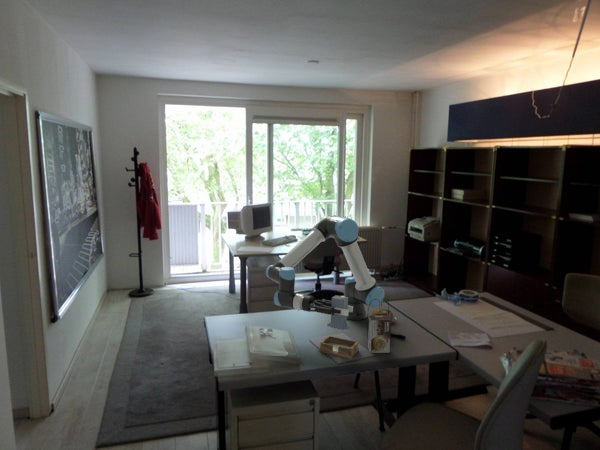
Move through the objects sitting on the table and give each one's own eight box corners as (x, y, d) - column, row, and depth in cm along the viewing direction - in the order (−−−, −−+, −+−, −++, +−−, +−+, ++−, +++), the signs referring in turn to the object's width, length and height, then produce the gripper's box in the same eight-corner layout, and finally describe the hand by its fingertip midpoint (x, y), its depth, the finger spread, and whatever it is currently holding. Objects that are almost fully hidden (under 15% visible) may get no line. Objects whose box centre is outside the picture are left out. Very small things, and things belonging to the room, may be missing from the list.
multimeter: (373, 344, 204) (375, 304, 202) (364, 336, 214) (366, 298, 211) (400, 342, 208) (402, 302, 206) (390, 334, 218) (392, 297, 215)
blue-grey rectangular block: (330, 323, 199) (331, 292, 197) (350, 327, 194) (352, 296, 192) (326, 326, 194) (327, 295, 192) (346, 330, 190) (348, 299, 188)
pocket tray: (327, 343, 203) (328, 335, 203) (358, 350, 197) (358, 341, 196) (319, 351, 194) (319, 342, 194) (351, 358, 187) (351, 349, 187)
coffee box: (386, 347, 201) (388, 314, 199) (389, 353, 194) (391, 319, 192) (367, 347, 200) (369, 314, 198) (370, 353, 194) (372, 319, 192)
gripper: (312, 305, 210) (356, 313, 199) (295, 315, 194) (343, 325, 183) (312, 290, 209) (357, 298, 198) (296, 299, 193) (343, 308, 182)
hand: (350, 311), depth 191 cm, fingers closed on blue-grey rectangular block, 5 cm apart
